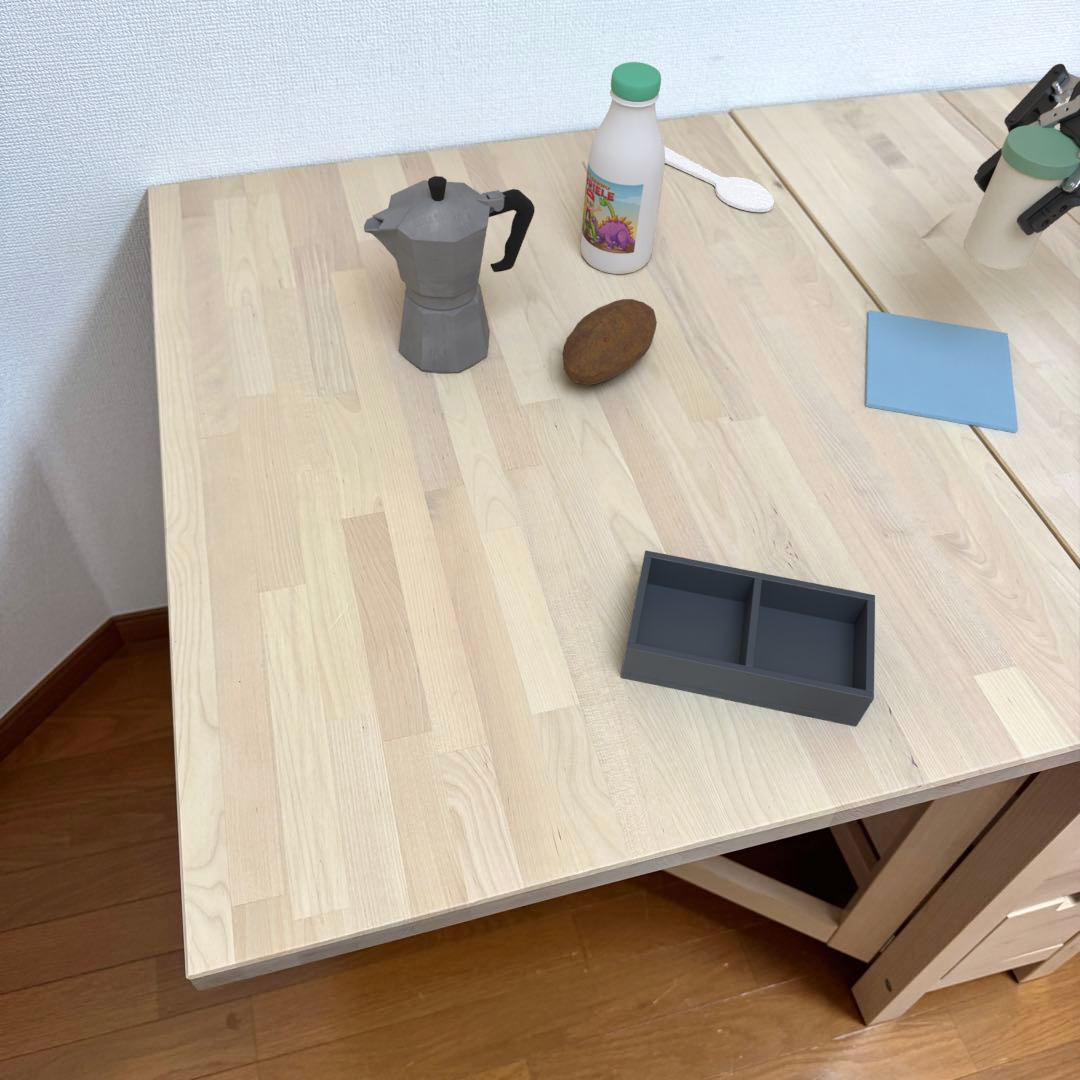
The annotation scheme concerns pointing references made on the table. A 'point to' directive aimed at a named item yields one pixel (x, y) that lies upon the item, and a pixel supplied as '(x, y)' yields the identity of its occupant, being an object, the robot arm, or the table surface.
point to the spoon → (726, 185)
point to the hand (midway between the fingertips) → (1000, 205)
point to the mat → (939, 371)
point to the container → (1018, 194)
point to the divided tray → (752, 638)
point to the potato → (609, 341)
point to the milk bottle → (625, 174)
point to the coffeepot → (446, 266)
